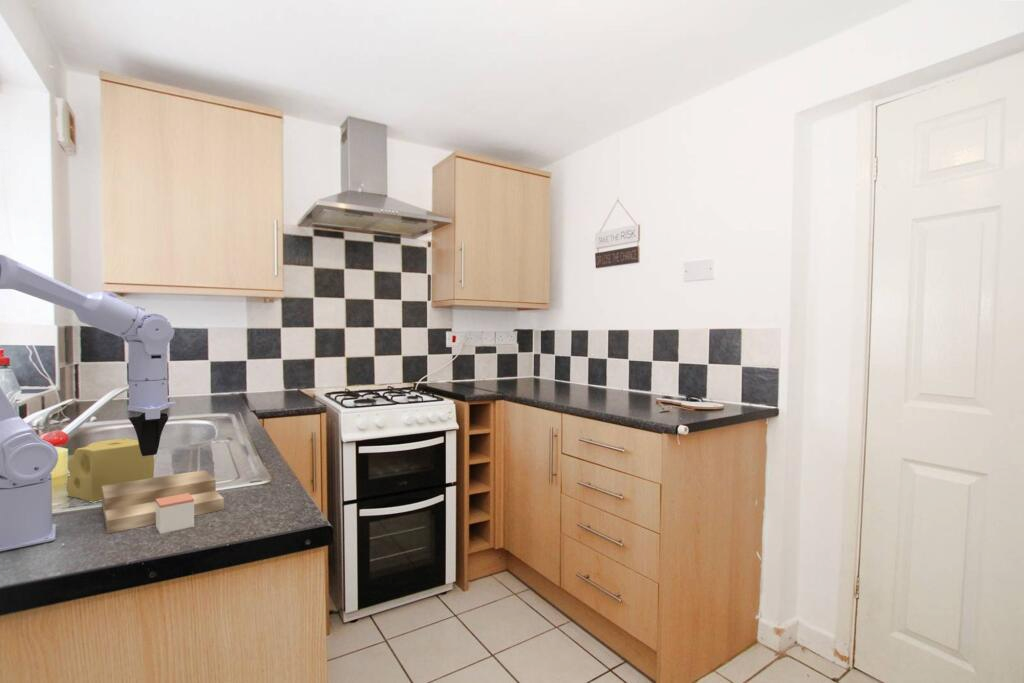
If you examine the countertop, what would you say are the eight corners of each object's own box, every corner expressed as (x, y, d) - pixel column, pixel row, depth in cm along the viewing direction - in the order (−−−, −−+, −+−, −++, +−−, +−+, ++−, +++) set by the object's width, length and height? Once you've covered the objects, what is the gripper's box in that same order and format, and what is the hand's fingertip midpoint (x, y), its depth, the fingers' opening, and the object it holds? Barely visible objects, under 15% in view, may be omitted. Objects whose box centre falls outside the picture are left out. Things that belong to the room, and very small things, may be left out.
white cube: (155, 499, 80) (155, 526, 80) (160, 505, 77) (160, 534, 77) (188, 493, 83) (188, 519, 83) (194, 499, 80) (194, 526, 80)
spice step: (107, 533, 77) (107, 508, 77) (102, 508, 89) (101, 485, 89) (223, 509, 87) (223, 487, 87) (204, 489, 100) (204, 469, 100)
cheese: (66, 497, 96) (65, 445, 96) (129, 482, 106) (129, 436, 106) (91, 504, 91) (91, 450, 91) (156, 489, 101) (155, 440, 101)
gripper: (180, 380, 87) (181, 458, 87) (169, 377, 98) (170, 445, 98) (130, 383, 82) (130, 464, 82) (124, 379, 93) (125, 451, 93)
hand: (149, 454), depth 89 cm, fingers closed
